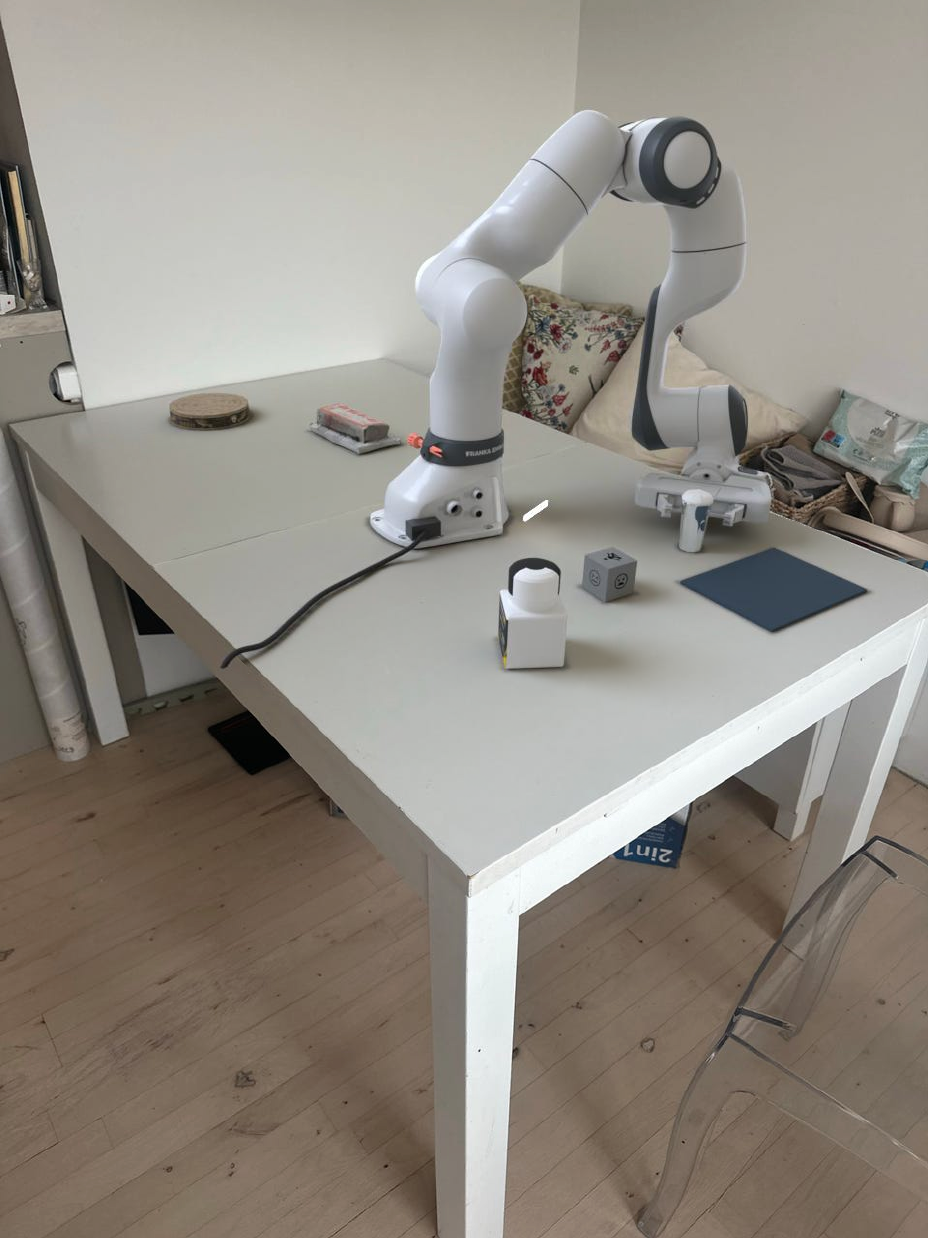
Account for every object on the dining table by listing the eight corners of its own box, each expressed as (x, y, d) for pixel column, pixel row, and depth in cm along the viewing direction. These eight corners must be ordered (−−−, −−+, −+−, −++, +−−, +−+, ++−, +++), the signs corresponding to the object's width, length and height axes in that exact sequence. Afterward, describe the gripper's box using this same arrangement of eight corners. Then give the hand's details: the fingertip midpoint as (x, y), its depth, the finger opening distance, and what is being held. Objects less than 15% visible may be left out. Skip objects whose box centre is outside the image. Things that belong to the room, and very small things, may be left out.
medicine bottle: (497, 638, 114) (500, 552, 108) (553, 636, 114) (560, 550, 108) (504, 670, 108) (508, 580, 101) (564, 667, 108) (571, 578, 102)
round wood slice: (241, 403, 198) (239, 389, 196) (257, 424, 185) (256, 410, 184) (165, 411, 192) (163, 397, 191) (177, 434, 180) (175, 419, 178)
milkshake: (711, 556, 135) (721, 493, 130) (674, 552, 136) (683, 490, 131) (710, 543, 139) (720, 482, 134) (674, 540, 140) (683, 479, 135)
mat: (771, 632, 116) (772, 629, 116) (680, 583, 127) (680, 580, 127) (866, 591, 126) (867, 589, 126) (773, 549, 137) (774, 547, 137)
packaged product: (306, 407, 180) (348, 398, 185) (308, 431, 182) (349, 422, 188) (357, 430, 168) (401, 420, 174) (358, 455, 170) (401, 444, 176)
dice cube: (633, 593, 125) (637, 560, 122) (605, 602, 122) (608, 569, 120) (609, 578, 128) (613, 546, 126) (581, 587, 126) (584, 554, 123)
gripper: (643, 457, 146) (629, 487, 135) (775, 473, 141) (771, 506, 130) (639, 493, 150) (624, 526, 138) (768, 511, 144) (764, 546, 133)
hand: (697, 516), depth 134 cm, fingers open, 8 cm apart
